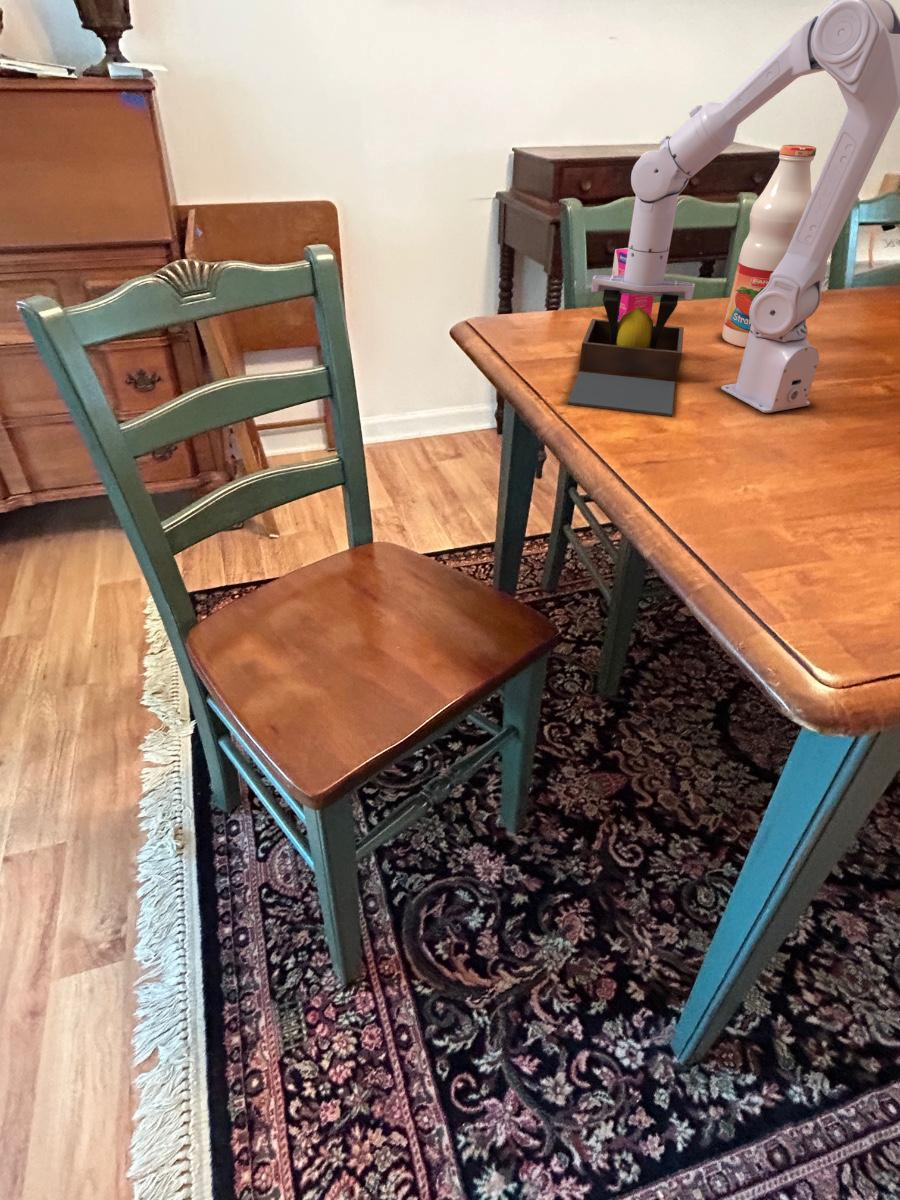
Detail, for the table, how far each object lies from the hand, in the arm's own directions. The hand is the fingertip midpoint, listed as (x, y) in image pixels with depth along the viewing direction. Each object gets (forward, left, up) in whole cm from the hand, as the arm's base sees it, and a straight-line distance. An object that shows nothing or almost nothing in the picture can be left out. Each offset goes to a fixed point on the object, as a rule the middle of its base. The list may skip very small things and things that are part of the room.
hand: (633, 344), depth 114 cm
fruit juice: (+2, -25, -3) cm, 25 cm away
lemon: (0, 0, -3) cm, 3 cm away
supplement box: (+19, -12, -3) cm, 23 cm away
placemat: (-10, +8, -3) cm, 14 cm away
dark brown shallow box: (0, 0, -3) cm, 3 cm away
